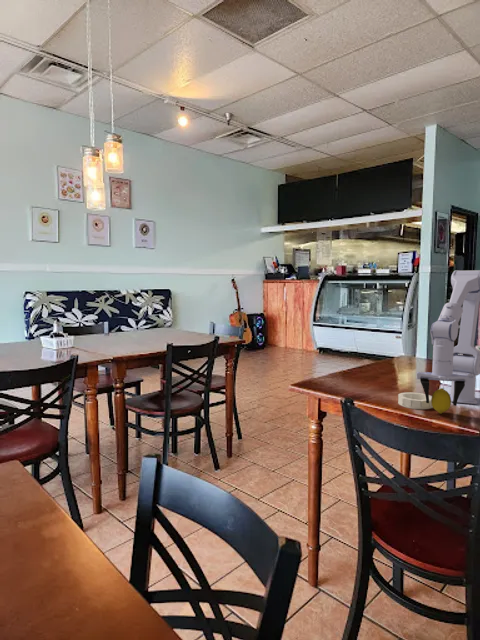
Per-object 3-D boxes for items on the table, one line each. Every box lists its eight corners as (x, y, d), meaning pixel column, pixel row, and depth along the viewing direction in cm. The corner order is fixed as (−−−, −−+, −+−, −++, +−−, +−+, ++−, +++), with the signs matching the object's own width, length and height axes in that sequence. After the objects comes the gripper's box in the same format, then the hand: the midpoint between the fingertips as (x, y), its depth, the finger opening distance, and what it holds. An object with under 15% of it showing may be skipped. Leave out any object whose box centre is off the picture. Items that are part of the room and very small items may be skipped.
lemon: (426, 412, 138) (427, 387, 138) (439, 410, 141) (441, 385, 140) (441, 417, 133) (442, 391, 133) (454, 415, 135) (455, 389, 135)
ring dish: (398, 399, 154) (398, 391, 154) (432, 402, 150) (432, 394, 150) (397, 407, 144) (398, 398, 143) (434, 410, 140) (435, 402, 140)
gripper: (417, 360, 134) (416, 404, 135) (471, 364, 129) (468, 409, 130) (417, 357, 141) (415, 399, 142) (467, 360, 136) (465, 403, 137)
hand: (440, 403), depth 137 cm, fingers open, 7 cm apart
